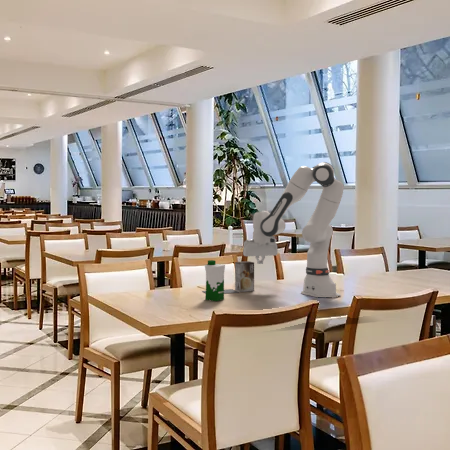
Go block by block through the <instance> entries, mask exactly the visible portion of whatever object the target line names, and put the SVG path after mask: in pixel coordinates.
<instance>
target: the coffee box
mask: <svg viewBox="0 0 450 450" xmlns="http://www.w3.org/2000/svg"><path fill="white" fill-rule="evenodd" d="M234 290H235V291H238V292H239V293H244V292H253V291H254V292H255V262H254V261H248V260H247V261H235V262H234Z"/></svg>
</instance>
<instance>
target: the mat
mask: <svg viewBox="0 0 450 450" xmlns="http://www.w3.org/2000/svg"><path fill="white" fill-rule="evenodd" d="M201 292H202V293H204V294H206V290H202V291H201ZM239 293H240V292H239V291H236V290H235V289H232V288H228V289H227V288H226V289H224V295H225V294H239Z"/></svg>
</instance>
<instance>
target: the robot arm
mask: <svg viewBox="0 0 450 450" xmlns="http://www.w3.org/2000/svg"><path fill="white" fill-rule="evenodd" d="M314 182H316V183H317V184H319V185H320V186H321V187H322V191H321V194H320V196H319V199H318V202H317V204H316V207H315V209H314V211H313V213H312V215H311V216H310V217H309V220H308V221H307V223H306V225H305V226H304V227H303V228H302V230H301V235H302V236H301V237H302V238H303V240H304V241H305V242H308V243H310V245H309V248H308V250H307V253H306V254H307V255H306V268H305V277H304V279H303V288H302V291H301V292H300V293H301V294H302V295H306V296H309V297H314V298H318V297H332V298H337V297H336V296H340V297H341V293H338V292H337V284H336V283H335V281H333V279H332V278H331V277H330V269H329V268H328V253H329V248H330V242H331V238H332V236H333V234H334V230H333V227H332V225H331V222H332V220H333V219H335V217H336V214H337V211H338V209H339V206H340V203H341V201H342V197H343V194H344V190H345V189H344V188H345V187H344V184H343V182H342V181H340V180H338V179H336V177H335V168H334V166H333V165H332V164H331V163H330V162H326V161H323V162H320V163H318V164H316V165H314V166H312V167H309V166H306V165H302V166H299V167H298V168H297V169H296V171H295V172H294V174H292V176H291V178H290V179H289V181H288V183H287V185H286V187H285V189H284V191H283V193H282V194H281V196H280V198H279V200H278V201H277V202H276V204H275V206H274V207H273V209H272V211H271V212H269V211H268V210H259V211H256V212H255V213H254V214H253V218H252V219H253V220H252V229H253V232H252V239H246V240H244V241H243V250H242V251H243V252H242V255H243V257H255V259H256V262H257V263H256V264H257V265H261V264H262V265H263V264H264V260H265V259H266V256H268V257H269V256H277V255H278V244H277V243H276V242H277V239H276V238H274V237H273V236H276V235H279V234H281V233H283V232H284V231H285V229H286V221H285V220H284V218H282V217H283V216H284V214H285V213H286V211H287V210H288V208H291V207H290V206H292V205H294V204H295V203H297V202H299V201H301V200H302V199H303V198H304V196H305V195H306V194H307V192H308V190H309V189H310V187H311V185H313V183H314ZM260 257H261V259H259V258H260Z"/></svg>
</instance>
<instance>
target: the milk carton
mask: <svg viewBox="0 0 450 450" xmlns="http://www.w3.org/2000/svg"><path fill="white" fill-rule="evenodd" d="M225 269H226V264H218V263H216V260H215V259H214V260H213V259H211V260H210V259H209V260H207V264H205V265H204V270H205V291H206V293H205V301H209V300H211V302H220V301H223V300H225V294H224V290H225Z"/></svg>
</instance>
